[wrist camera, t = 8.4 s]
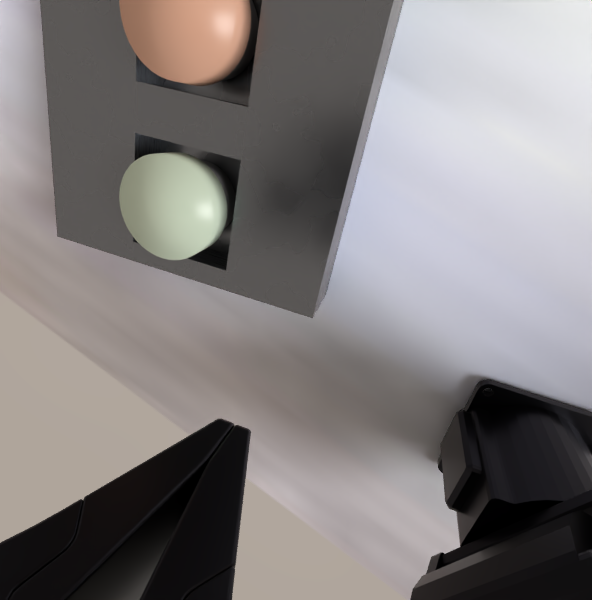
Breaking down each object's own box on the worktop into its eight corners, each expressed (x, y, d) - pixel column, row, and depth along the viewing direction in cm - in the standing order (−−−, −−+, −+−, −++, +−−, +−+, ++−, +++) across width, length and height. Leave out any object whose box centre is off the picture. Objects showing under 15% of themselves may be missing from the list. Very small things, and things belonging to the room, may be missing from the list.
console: (494, -341, 11) (518, -490, 9) (325, 294, 20) (312, 318, 18) (85, -351, 14) (5, -470, 11) (99, 224, 23) (57, 236, 20)
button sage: (249, 163, 18) (218, 168, 15) (236, 252, 20) (206, 272, 17) (164, 141, 18) (119, 142, 16) (160, 229, 20) (119, 244, 17)
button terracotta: (277, -28, 15) (243, -67, 12) (258, 100, 16) (226, 93, 14) (173, -45, 15) (118, -86, 12) (167, 79, 17) (119, 68, 14)
